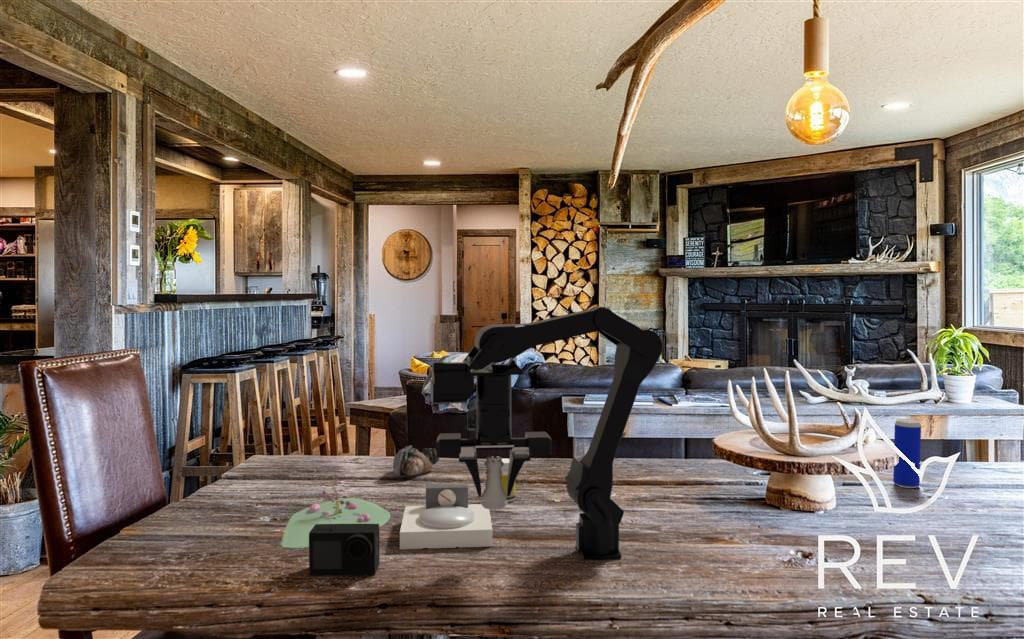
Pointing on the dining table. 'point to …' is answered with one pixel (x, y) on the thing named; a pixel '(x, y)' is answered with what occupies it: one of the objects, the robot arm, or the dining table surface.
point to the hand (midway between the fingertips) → (494, 495)
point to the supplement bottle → (504, 480)
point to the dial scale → (446, 521)
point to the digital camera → (343, 549)
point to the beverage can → (907, 452)
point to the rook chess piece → (494, 485)
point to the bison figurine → (414, 461)
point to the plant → (331, 517)
